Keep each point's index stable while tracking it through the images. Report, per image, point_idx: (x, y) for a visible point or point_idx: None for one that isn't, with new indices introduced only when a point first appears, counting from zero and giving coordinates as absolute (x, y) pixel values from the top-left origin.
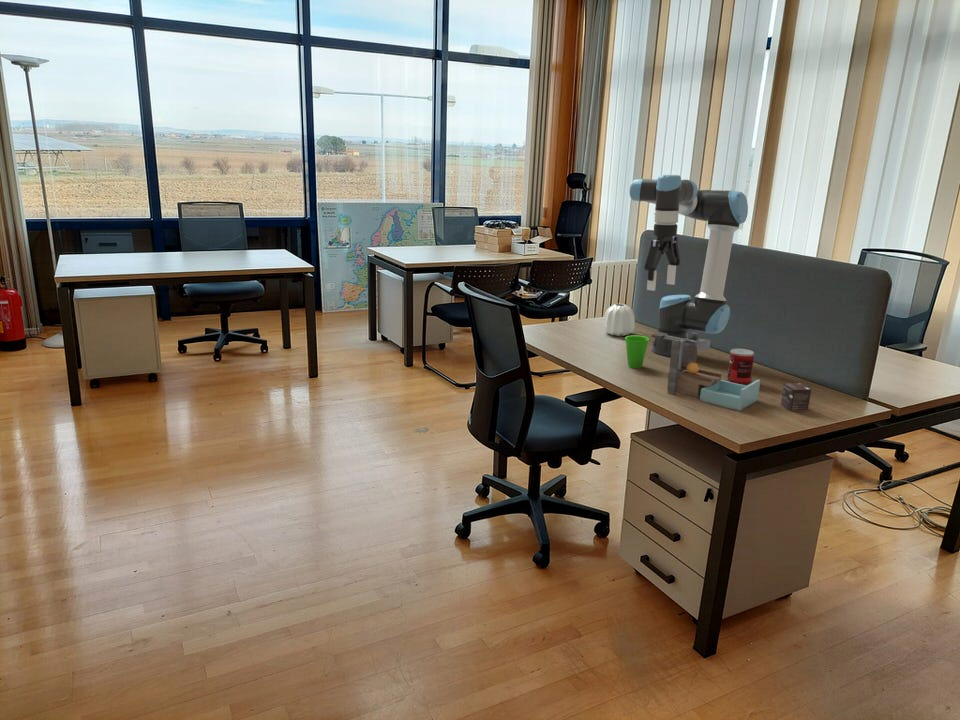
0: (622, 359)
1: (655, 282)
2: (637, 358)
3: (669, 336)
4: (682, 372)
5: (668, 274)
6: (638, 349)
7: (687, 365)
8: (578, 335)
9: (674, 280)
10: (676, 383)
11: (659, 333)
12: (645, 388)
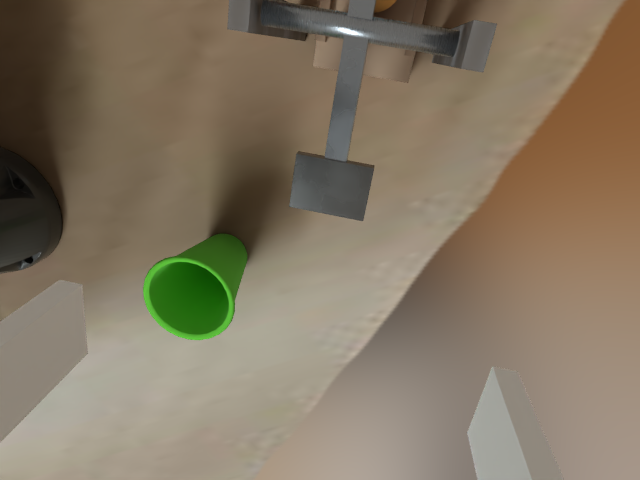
0: None
1: (528, 440)
2: (236, 255)
3: (344, 131)
4: (415, 18)
5: (12, 416)
6: (229, 268)
7: (383, 5)
8: (67, 461)
9: (39, 306)
10: None
11: (317, 195)
12: (433, 149)
